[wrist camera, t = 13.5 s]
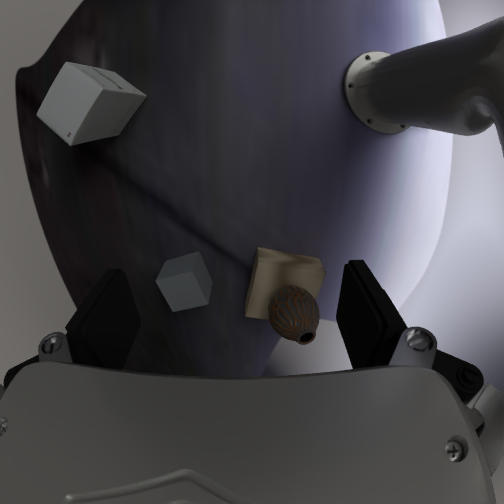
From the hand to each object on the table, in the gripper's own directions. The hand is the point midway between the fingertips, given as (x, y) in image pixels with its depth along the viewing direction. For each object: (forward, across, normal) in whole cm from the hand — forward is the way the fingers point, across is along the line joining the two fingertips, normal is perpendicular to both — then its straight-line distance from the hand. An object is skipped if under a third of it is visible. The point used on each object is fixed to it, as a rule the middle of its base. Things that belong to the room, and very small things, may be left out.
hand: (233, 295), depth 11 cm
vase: (+23, -5, +18) cm, 30 cm away
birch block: (+29, -5, +18) cm, 34 cm away
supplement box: (+28, +18, -12) cm, 36 cm away
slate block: (+28, +10, +16) cm, 34 cm away
